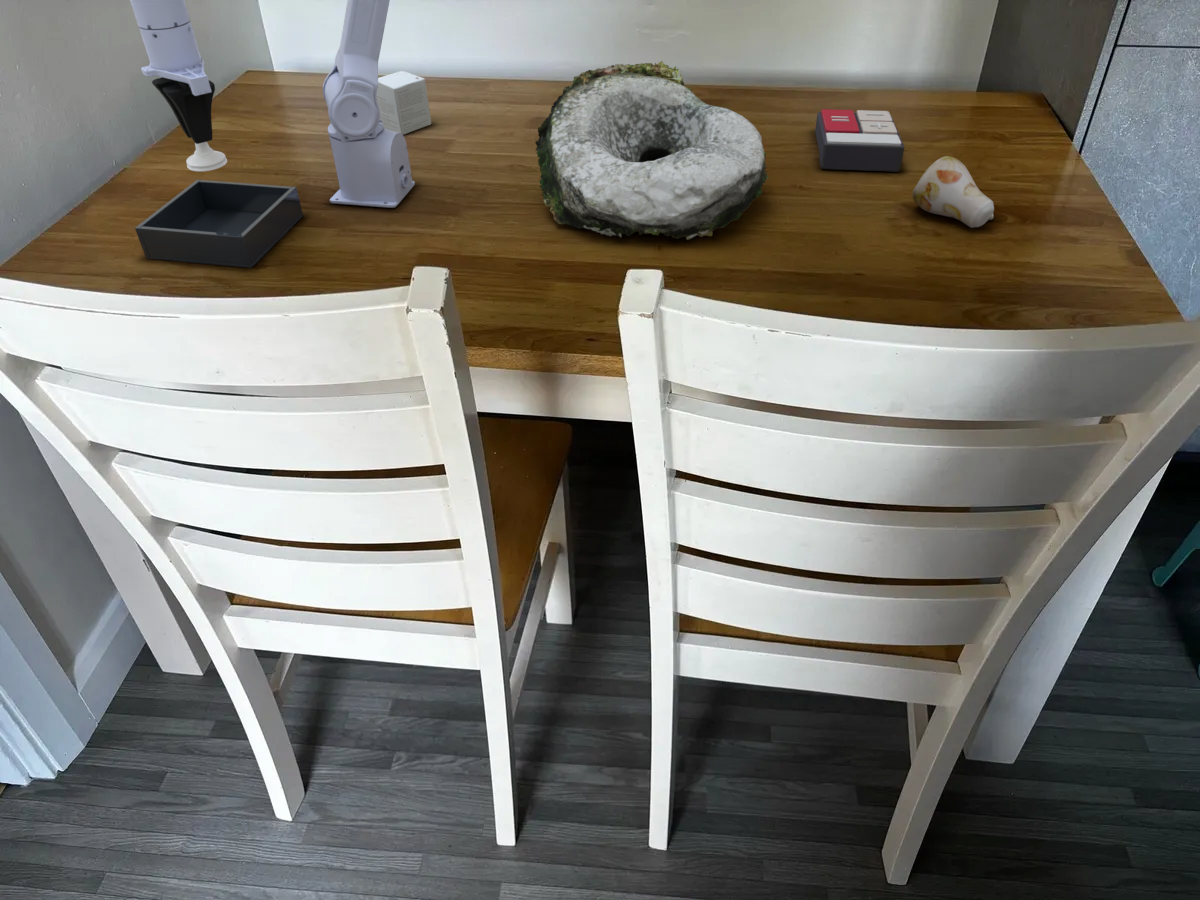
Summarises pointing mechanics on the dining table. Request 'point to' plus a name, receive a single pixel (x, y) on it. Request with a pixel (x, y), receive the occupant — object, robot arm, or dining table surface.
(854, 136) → the calculator
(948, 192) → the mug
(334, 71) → the robot arm
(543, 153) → the stone basin
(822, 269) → the dining table surface
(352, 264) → the dining table surface
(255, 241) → the square open tray
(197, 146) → the chess piece
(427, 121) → the product box
